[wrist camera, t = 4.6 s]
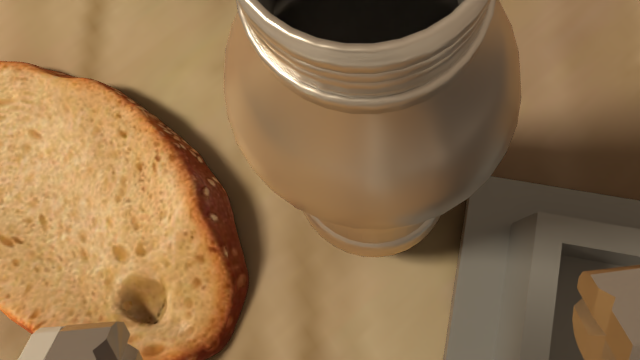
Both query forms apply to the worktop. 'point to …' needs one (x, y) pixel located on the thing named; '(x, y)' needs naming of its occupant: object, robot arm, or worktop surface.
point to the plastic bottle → (372, 109)
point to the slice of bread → (111, 219)
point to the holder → (532, 267)
